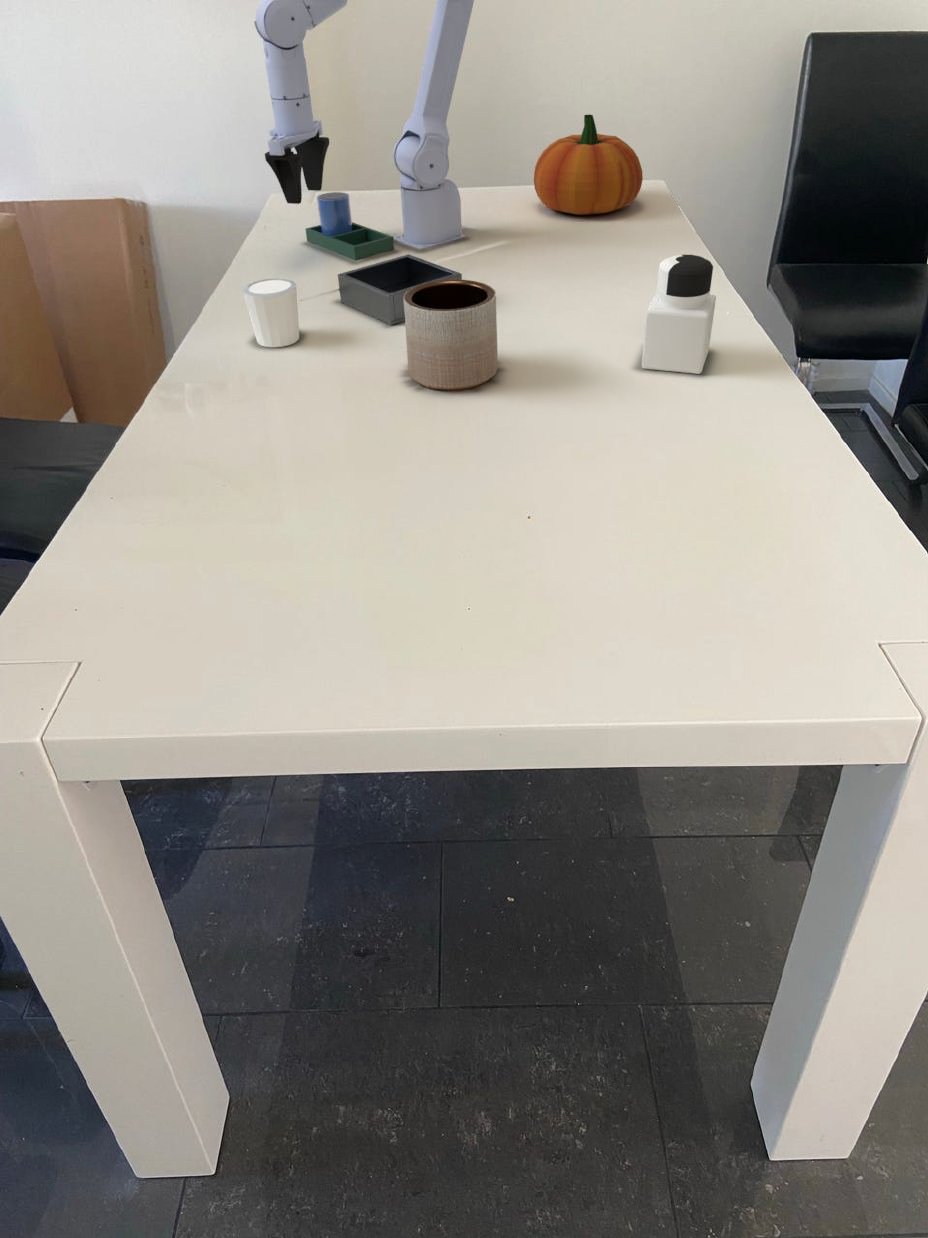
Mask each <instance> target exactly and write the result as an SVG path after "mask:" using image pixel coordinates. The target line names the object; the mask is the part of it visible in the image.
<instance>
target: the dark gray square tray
mask: <svg viewBox="0 0 928 1238" xmlns="http://www.w3.org/2000/svg"><path fill="white" fill-rule="evenodd" d="M452 279H458V280H463V273H461V272H458V271H455V270H452V269H450V268H447V267H445V266H442V265H439V264H436V263H433V262H431V261H428V260H425V259H423V258H420V257H417V256H415V255H412V254H409V253H408V254H405V255H401V256H397V257H394V258H391V259H387V260H383V261H380V262H376V263H373V264H370V265H369V264H368V265H366V266H362V267H359V268H355V269H351V270H348V271H345V272H341V273H338V274H337V280H338V281H337V282H338V289H339V297H340V303H341V304H343V305H345V306H348V307H350V308H352V309H354V310H357V311H359V312H360V313H364V314H366V315H368V316H369V317H372V318H375V319H376V320H379V321H381V322H383V323H385V324H387V325H389V326H393V325H396V324H397V325H398V324H400V323H403V322H405V313H404V299H403V298H404V295H405V293H406V292H407V291H408V290H410V289H411V288H413V287H415V286H418V285H421V284H424V283H428V282H432V281H439V280H452Z"/></svg>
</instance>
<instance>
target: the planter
mask: <svg viewBox="0 0 928 1238" xmlns="http://www.w3.org/2000/svg"><path fill="white" fill-rule="evenodd" d="M403 299H404V313H405V321H404V325H405V327H404V328H405V340H406V342H405V343H406V358H407V369H408V374H409V377H411V379H412V380H413V381H415V382H416V383H418V384H420V385H422V386H424V387H426V388H431V389H434V390H440V391H441V390H442V391H458V390H465V389H471V388H474V387H477V386H479V385H483V384H484V383H486V382H487V381H488V380H490V379H492V378H493V377H494V376H495V375H496V373H497V371H498V367H499V356H498V354H499V352H498V327H497V326H498V324H497V321H498V320H497V292H496V290H495V289H494V288H493V287H492V286H490V285H489V284H486V283H483V282H480V281H476V280H470V279H468V280H467V279H462V280H458V279H452V280H439V281H432V282H428V283H424V284H421V285H418V286H415V287H413V288H411V289H410V290H408V291H407V292H406V293H405V295H404V298H403Z"/></svg>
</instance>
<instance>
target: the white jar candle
mask: <svg viewBox="0 0 928 1238" xmlns="http://www.w3.org/2000/svg"><path fill="white" fill-rule="evenodd" d="M242 294H243V298H244V301H245V305H246V307H247V312H248V314H249V318H250V321H251V325H252V329H253V332H254V336H255V340H256V342H257V343H258V345H259V346H262V347H264V348H282V347H287V346H291V345H292V344H295V343H297V341H299V340H300V323H299V309H298V294H297V283H296V282H295V281H294V280H292V279H287V278H280V277H279V278H278V277H276V278H264V279H260V280H255V281H252V282H249V283H248V284H246V285H245V286H243V288H242Z"/></svg>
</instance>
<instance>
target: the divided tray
mask: <svg viewBox="0 0 928 1238" xmlns="http://www.w3.org/2000/svg"><path fill="white" fill-rule="evenodd" d="M352 229H353V231H351V232H347V233H343V234H339V235H335V236H328V235H325V234H323V233H322V231H321V224H318V225H314V226H310V227H307V228H305V235H306V236H305V237H306V242H308V243H310V244H313V245H315V246H318V247H321V248H323V249H325V250H328V251H331V252H333V253H336V254H338V255H341V256H343V257H346V258H348V259H350V260H353V261H359V260H362V259H366V258H369V257H373V256H377V255H381V254H384V253H388V252H392V251H395V242H394V241H395V240H394V236H392V235H390V234H386V233H384V232H381V231H378V230H376V229H373V228H370V227H367V226H364V225H361V224H359V223H356V222H353V221H352Z"/></svg>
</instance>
